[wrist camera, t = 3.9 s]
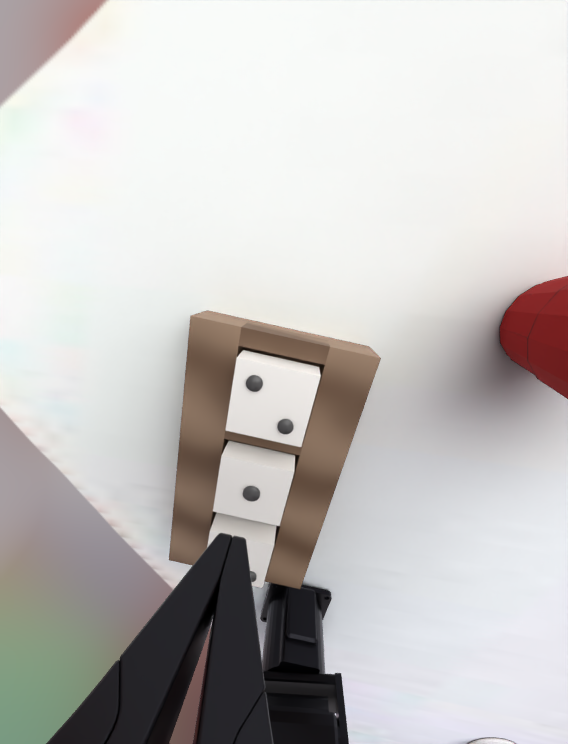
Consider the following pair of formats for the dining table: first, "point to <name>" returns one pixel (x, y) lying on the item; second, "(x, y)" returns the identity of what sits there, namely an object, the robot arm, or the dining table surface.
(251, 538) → the three dot key
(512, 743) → the lidded bowl
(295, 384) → the two dot key
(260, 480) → the one dot key
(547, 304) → the plastic cup
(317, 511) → the key panel
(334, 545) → the dining table surface
